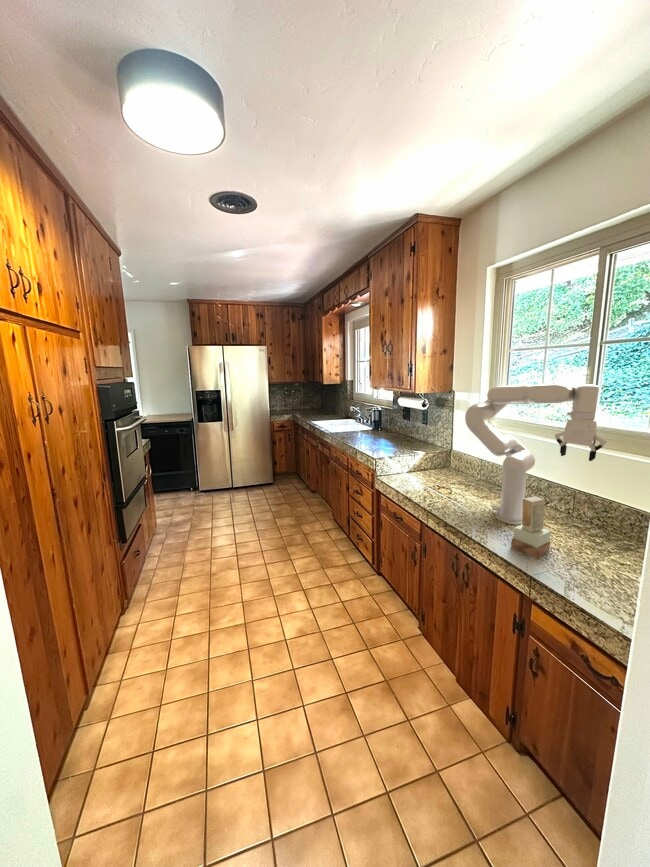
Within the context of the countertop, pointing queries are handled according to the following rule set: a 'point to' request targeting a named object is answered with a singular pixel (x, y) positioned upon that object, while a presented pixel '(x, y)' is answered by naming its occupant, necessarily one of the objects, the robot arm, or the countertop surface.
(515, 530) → the tower top
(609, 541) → the countertop surface
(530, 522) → the skincare box
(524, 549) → the tower bottom
